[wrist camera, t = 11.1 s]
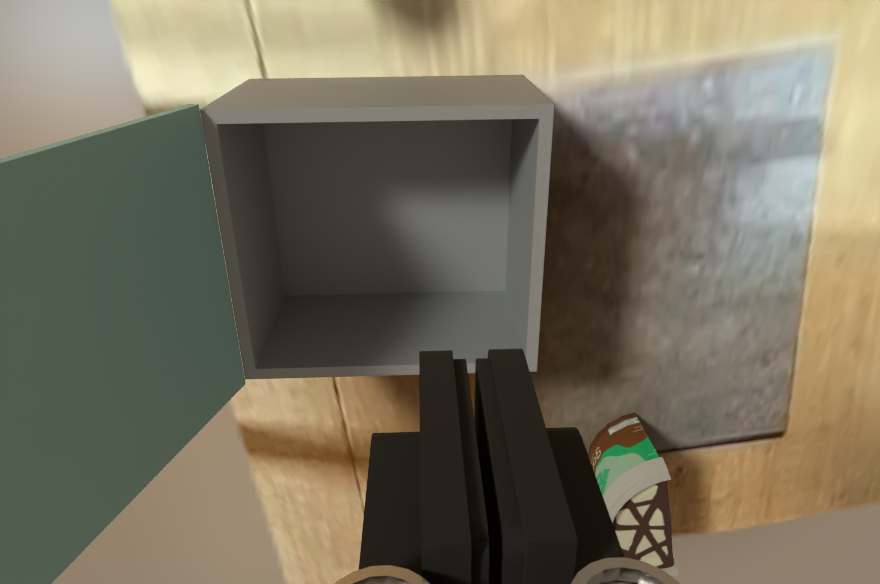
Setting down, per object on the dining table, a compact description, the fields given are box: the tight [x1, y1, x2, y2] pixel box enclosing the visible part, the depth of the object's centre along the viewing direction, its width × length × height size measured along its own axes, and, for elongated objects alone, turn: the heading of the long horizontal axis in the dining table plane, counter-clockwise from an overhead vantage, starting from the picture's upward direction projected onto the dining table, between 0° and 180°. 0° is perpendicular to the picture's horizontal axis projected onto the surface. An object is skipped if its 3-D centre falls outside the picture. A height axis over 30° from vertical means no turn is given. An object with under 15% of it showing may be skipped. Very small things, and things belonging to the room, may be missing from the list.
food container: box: [588, 413, 679, 576], centre depth 59 cm, size 12×6×10 cm, turn 12°
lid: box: [0, 104, 245, 584], centre depth 31 cm, size 21×19×1 cm
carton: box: [200, 75, 554, 379], centre depth 46 cm, size 20×18×12 cm
